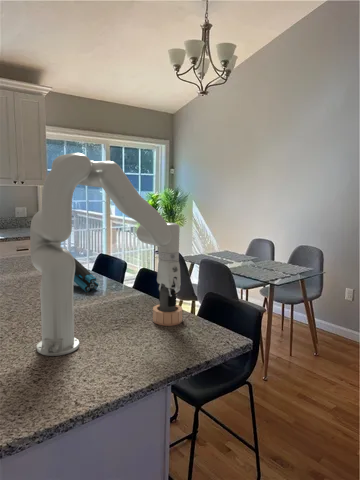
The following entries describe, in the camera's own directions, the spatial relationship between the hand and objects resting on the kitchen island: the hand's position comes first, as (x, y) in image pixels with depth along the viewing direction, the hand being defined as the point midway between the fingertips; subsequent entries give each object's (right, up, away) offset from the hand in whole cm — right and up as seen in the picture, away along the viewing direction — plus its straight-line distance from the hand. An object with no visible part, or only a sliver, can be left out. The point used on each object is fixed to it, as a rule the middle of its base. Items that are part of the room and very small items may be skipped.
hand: (167, 303), depth 139 cm
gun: (-46, +1, +45) cm, 65 cm away
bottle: (0, -6, +1) cm, 6 cm away
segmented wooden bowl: (0, -7, +1) cm, 7 cm away
